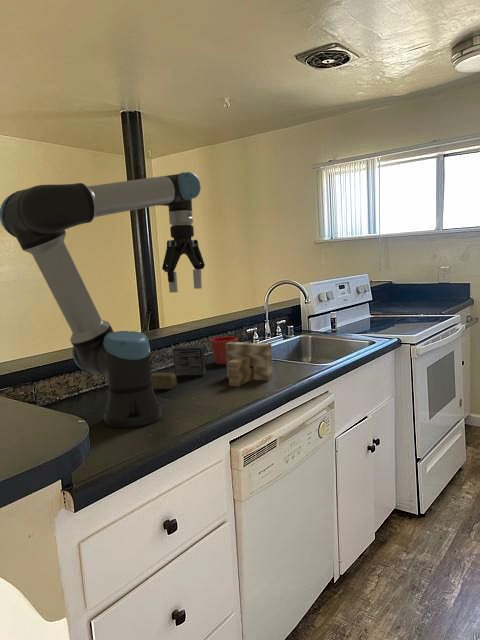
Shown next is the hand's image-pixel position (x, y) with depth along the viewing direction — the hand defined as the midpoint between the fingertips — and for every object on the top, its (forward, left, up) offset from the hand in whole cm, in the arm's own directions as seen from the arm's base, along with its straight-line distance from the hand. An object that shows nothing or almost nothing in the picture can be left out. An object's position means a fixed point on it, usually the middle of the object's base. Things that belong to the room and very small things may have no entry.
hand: (186, 290), depth 160 cm
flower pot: (+31, +6, -32) cm, 45 cm away
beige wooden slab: (+13, -15, -32) cm, 37 cm away
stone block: (-8, +8, -32) cm, 34 cm away
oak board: (+13, -15, -32) cm, 37 cm away
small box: (+10, +8, -32) cm, 34 cm away
